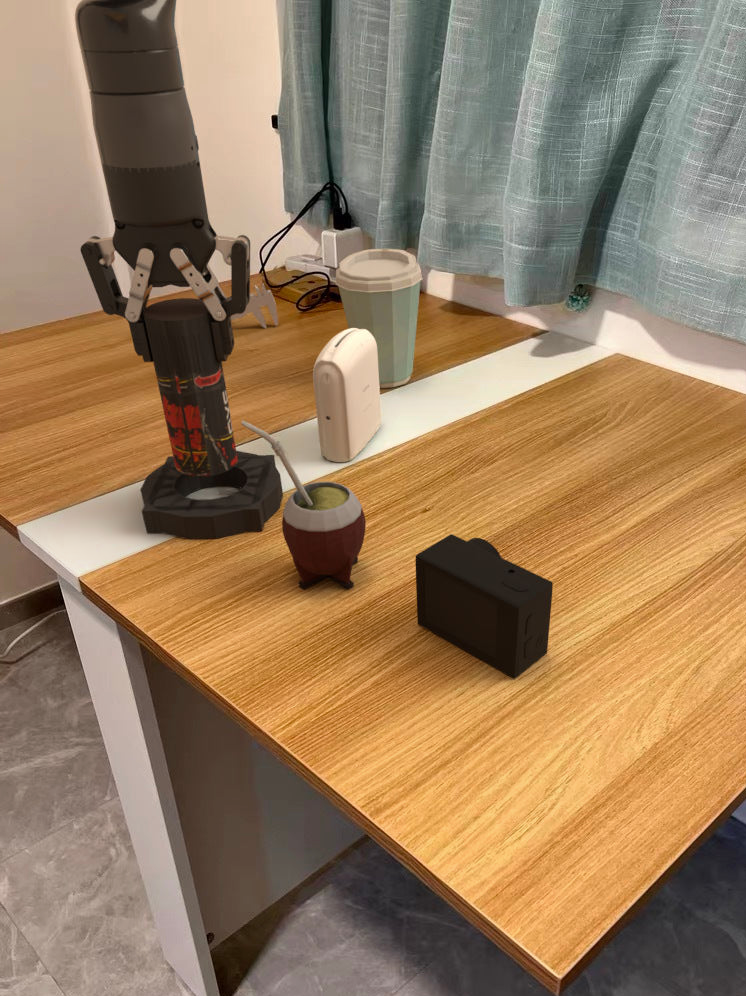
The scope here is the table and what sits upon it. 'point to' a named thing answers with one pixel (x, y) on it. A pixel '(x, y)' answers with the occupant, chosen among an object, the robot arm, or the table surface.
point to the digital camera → (483, 603)
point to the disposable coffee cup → (383, 306)
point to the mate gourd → (320, 526)
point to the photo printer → (347, 394)
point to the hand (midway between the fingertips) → (187, 358)
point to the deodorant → (191, 386)
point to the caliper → (260, 302)
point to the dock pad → (214, 516)
